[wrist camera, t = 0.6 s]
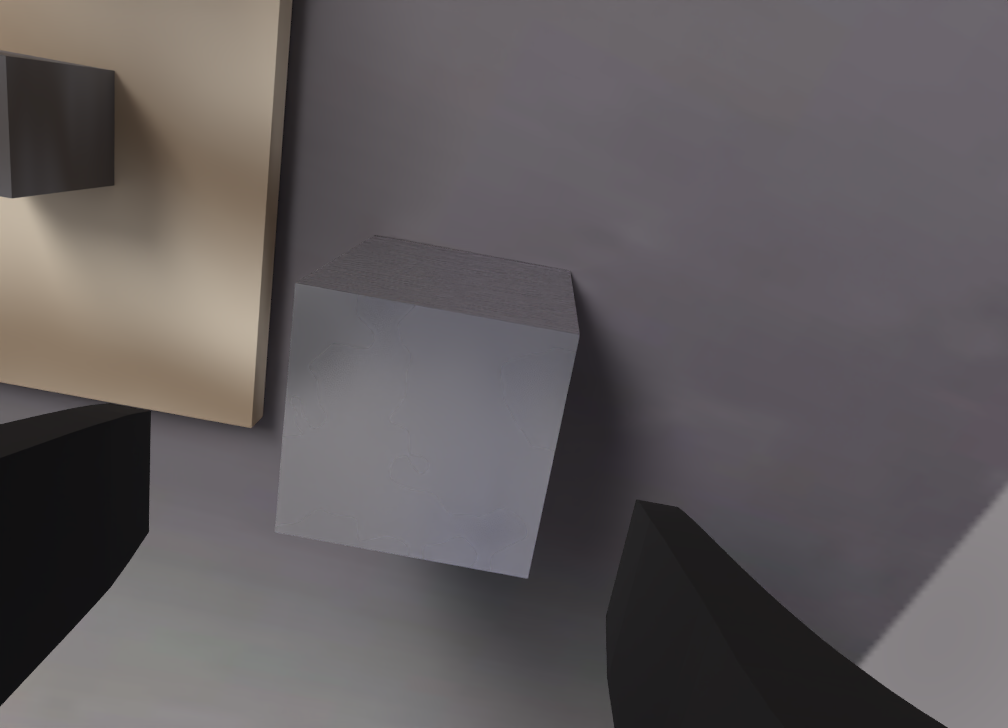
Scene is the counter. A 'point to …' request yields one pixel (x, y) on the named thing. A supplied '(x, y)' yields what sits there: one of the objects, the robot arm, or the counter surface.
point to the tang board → (141, 199)
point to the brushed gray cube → (425, 403)
